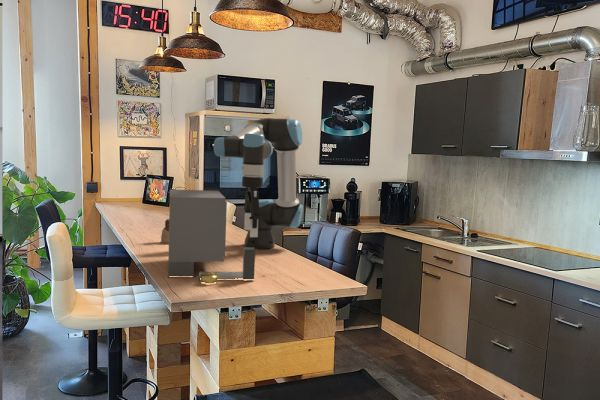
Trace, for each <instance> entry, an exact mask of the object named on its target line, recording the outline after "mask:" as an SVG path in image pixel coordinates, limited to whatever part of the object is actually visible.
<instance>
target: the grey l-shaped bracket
mask: <svg viewBox="0 0 600 400" xmlns="http://www.w3.org/2000/svg"><path fill="white" fill-rule="evenodd" d="M242 249H243V252H242V254H243V255H242V271H199V272H198V279H199V278H201V274H204V273H214V274H217V275H218V278H217V279H235V278H237V279H238V278H243V279H254V280H255V267H256V265H255V263H256V249H255V248H254V247H246V246H245V247H243V248H242Z"/></svg>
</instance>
